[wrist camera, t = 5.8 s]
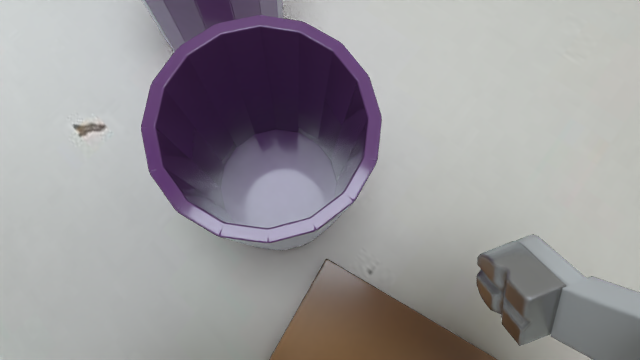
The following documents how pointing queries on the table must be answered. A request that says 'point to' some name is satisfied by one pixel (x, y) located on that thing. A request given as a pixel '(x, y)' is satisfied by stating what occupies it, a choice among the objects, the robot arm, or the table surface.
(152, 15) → the cup
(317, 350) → the mat
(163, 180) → the cup
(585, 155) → the table surface
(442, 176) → the table surface
